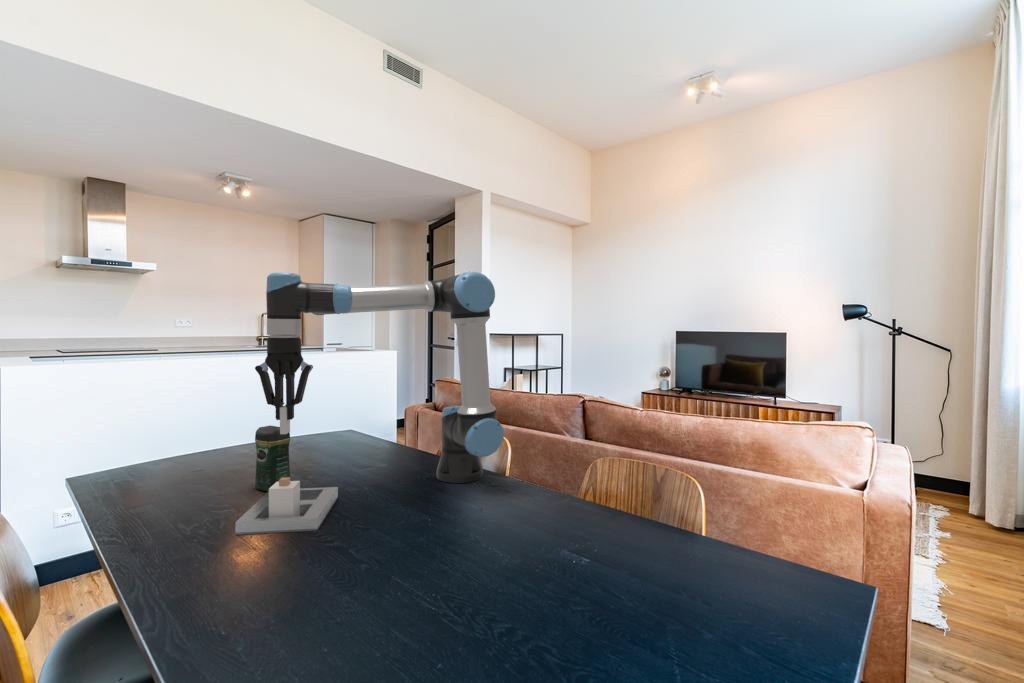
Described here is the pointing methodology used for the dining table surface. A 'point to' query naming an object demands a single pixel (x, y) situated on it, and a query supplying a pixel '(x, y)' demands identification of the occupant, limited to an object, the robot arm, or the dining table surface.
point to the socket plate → (311, 517)
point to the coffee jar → (271, 456)
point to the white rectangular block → (284, 499)
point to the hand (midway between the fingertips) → (285, 432)
